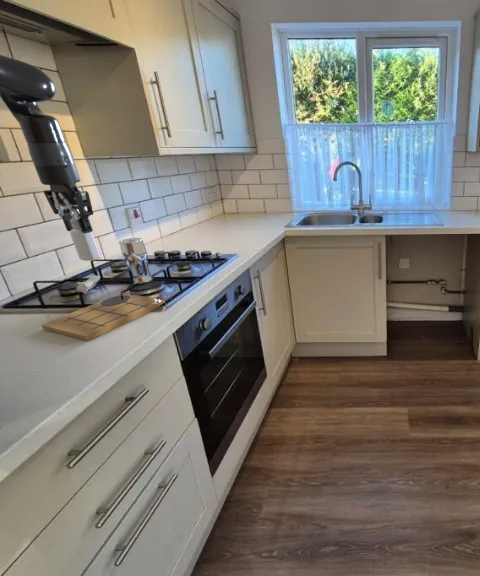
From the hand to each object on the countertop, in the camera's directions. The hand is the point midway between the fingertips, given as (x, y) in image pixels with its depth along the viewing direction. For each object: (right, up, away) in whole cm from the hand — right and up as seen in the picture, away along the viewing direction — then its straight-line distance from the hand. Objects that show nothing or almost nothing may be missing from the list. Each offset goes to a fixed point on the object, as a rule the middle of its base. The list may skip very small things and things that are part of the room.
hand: (80, 231), depth 93 cm
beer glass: (-5, -13, +32) cm, 35 cm away
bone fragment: (-20, -15, +28) cm, 37 cm away
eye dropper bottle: (0, -7, +3) cm, 8 cm away
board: (+1, -23, +8) cm, 24 cm away
